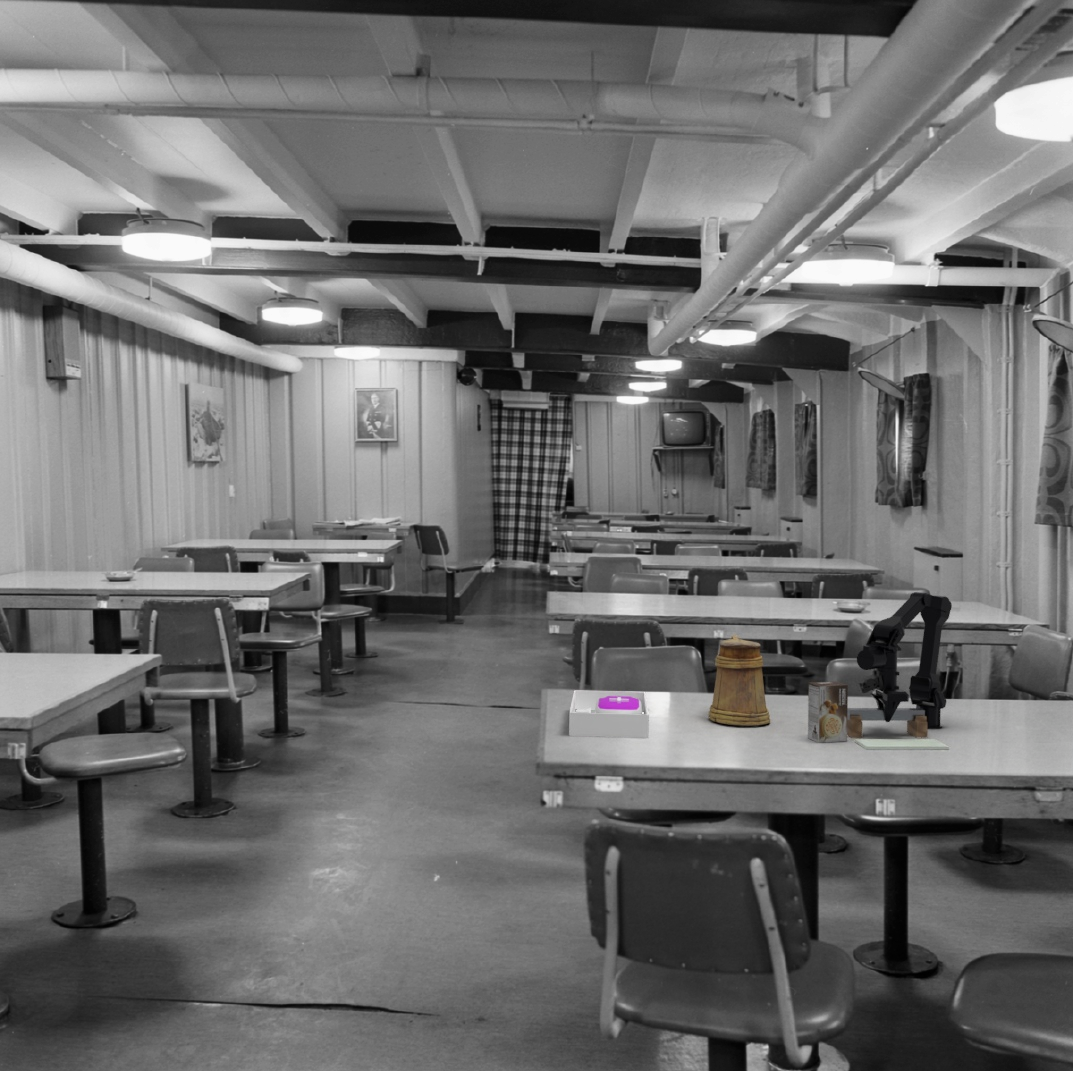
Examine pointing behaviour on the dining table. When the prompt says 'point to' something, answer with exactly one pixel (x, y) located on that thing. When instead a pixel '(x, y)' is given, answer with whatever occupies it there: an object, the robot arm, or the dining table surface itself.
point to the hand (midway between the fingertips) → (885, 720)
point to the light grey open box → (609, 714)
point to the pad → (901, 744)
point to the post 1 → (854, 727)
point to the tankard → (739, 685)
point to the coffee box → (827, 711)
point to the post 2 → (918, 726)
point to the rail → (878, 715)
